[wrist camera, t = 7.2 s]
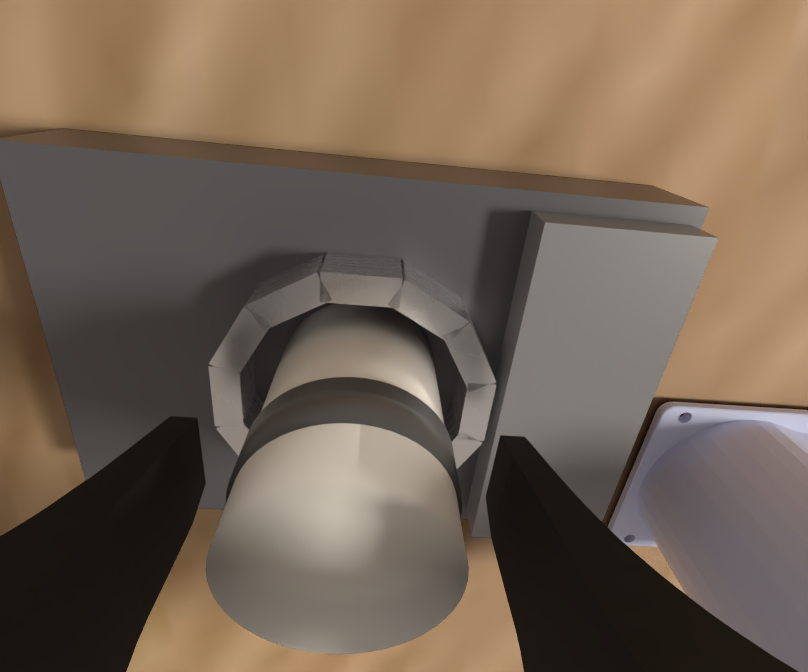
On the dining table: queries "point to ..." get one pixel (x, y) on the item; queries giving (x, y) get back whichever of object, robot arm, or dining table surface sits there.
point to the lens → (344, 493)
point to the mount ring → (356, 286)
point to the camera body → (345, 234)
